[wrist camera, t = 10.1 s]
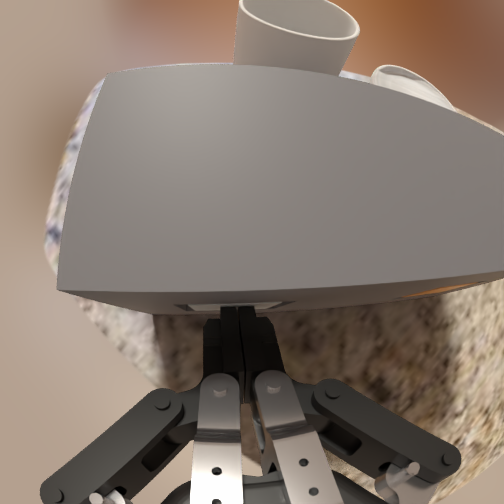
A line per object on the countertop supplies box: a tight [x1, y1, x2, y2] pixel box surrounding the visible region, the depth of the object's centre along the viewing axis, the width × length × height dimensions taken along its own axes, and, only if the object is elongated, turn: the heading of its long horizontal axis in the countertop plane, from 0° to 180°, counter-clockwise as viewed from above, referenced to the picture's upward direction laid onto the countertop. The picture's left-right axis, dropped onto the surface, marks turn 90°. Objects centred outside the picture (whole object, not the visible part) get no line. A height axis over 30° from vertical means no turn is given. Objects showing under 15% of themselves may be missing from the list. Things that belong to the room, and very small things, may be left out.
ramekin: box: [370, 65, 457, 113], centre depth 22 cm, size 11×11×5 cm
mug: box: [233, 0, 360, 76], centre depth 17 cm, size 10×7×12 cm, turn 164°
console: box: [57, 64, 504, 315], centre depth 14 cm, size 22×8×12 cm, turn 93°
